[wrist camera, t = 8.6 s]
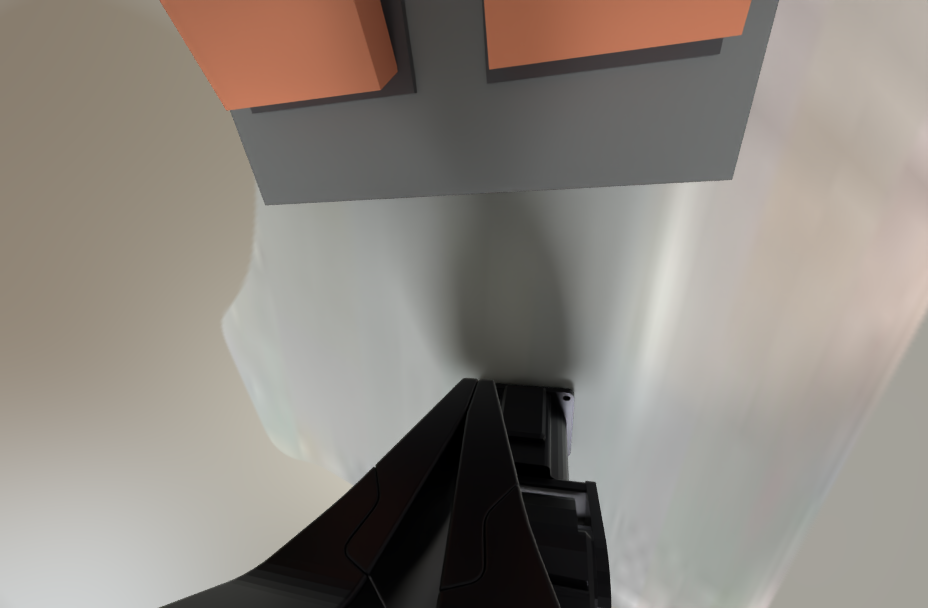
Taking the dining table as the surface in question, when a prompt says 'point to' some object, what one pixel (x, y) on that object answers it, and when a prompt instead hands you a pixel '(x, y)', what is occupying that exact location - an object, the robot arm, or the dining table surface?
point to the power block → (510, 116)
